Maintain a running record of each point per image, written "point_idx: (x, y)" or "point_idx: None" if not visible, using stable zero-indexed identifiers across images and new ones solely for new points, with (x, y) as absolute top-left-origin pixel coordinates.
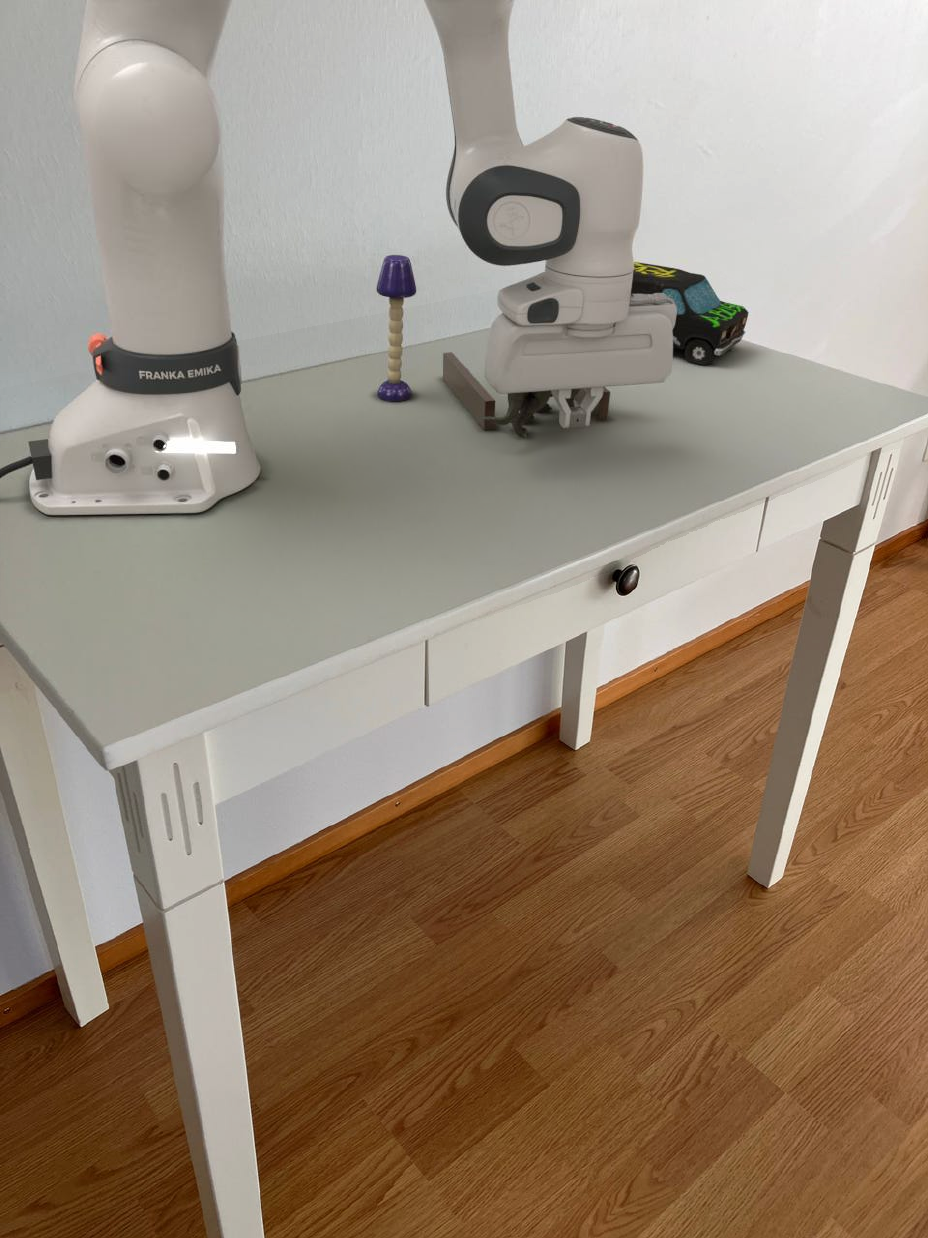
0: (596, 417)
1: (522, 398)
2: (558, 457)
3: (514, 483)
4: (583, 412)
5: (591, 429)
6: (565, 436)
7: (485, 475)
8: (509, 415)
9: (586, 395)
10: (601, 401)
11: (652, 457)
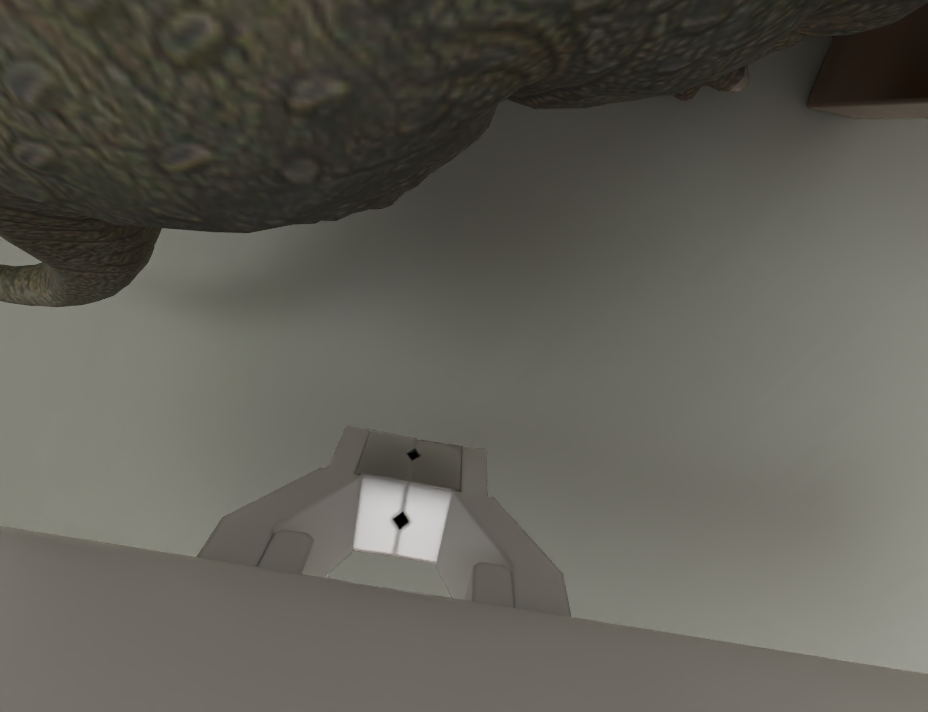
0: (821, 75)
1: (131, 249)
2: (357, 403)
3: (116, 511)
4: (424, 559)
5: (681, 199)
6: (507, 225)
7: (27, 426)
8: (63, 303)
9: (489, 550)
10: (888, 106)
11: (684, 531)
